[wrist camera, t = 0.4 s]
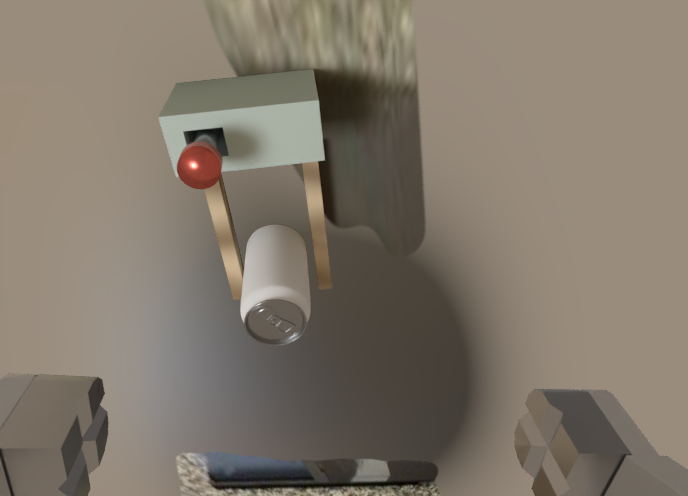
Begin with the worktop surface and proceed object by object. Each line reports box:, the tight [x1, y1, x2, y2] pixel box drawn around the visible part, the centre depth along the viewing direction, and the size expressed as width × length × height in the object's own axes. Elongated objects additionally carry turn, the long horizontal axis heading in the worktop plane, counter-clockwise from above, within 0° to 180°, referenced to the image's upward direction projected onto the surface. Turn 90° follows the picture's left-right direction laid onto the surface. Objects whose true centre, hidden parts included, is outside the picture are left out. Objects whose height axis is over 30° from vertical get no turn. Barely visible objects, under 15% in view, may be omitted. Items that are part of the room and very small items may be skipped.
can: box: [241, 224, 310, 346], centre depth 51 cm, size 6×6×12 cm
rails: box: [205, 161, 332, 300], centre depth 53 cm, size 17×11×2 cm, turn 4°
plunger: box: [177, 127, 223, 189], centre depth 39 cm, size 3×3×8 cm
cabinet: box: [159, 69, 325, 177], centre depth 43 cm, size 5×12×8 cm, turn 94°
